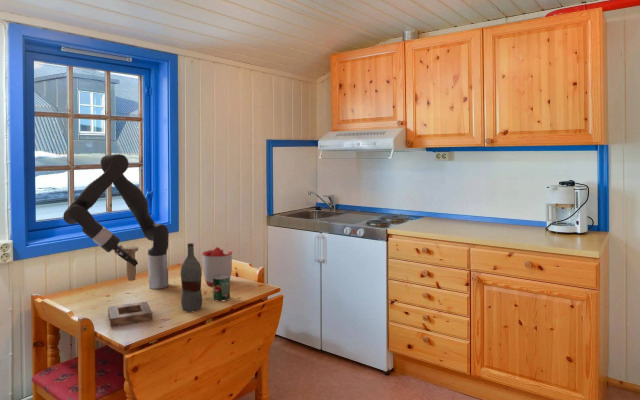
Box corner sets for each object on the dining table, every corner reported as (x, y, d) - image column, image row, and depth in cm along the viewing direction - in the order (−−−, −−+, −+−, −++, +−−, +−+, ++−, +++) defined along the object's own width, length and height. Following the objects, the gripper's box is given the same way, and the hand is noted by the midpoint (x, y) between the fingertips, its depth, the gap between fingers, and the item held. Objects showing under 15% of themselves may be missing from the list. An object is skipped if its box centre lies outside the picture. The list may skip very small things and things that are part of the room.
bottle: (188, 314, 203) (187, 246, 199) (177, 309, 209) (175, 243, 205) (206, 308, 210) (205, 243, 206) (195, 304, 216) (193, 240, 212)
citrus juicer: (240, 281, 253) (240, 245, 250) (217, 289, 238) (217, 251, 236) (220, 277, 261) (219, 242, 259) (196, 284, 246) (195, 247, 244)
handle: (124, 279, 212) (123, 247, 210) (139, 278, 214) (138, 246, 212) (123, 282, 207) (122, 249, 205) (138, 281, 209) (138, 248, 208)
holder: (147, 308, 209) (146, 301, 208) (152, 320, 195) (152, 312, 194) (108, 314, 201) (108, 306, 201) (110, 327, 187) (110, 318, 187)
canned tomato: (233, 297, 226) (232, 275, 225) (224, 302, 219) (224, 279, 218) (218, 295, 229) (218, 273, 228) (210, 300, 221) (209, 277, 220)
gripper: (113, 235, 198) (144, 260, 205) (111, 230, 211) (140, 254, 218) (100, 248, 196) (131, 273, 203) (98, 242, 209) (128, 266, 216)
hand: (135, 263), depth 211 cm, fingers closed on handle, 3 cm apart
